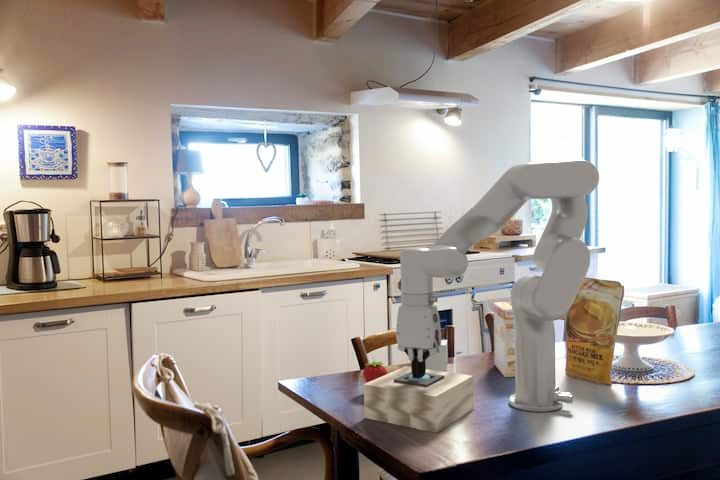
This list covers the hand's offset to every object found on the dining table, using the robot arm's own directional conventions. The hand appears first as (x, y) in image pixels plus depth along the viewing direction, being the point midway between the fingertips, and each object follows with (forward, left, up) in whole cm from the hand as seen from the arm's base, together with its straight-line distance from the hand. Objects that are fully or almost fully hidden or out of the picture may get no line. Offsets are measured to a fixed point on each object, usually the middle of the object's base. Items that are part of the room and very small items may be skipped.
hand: (418, 376), depth 148 cm
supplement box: (+7, -20, -9) cm, 23 cm away
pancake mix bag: (-26, -50, -9) cm, 57 cm away
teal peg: (0, 0, -7) cm, 7 cm away
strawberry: (+18, -8, -9) cm, 22 cm away
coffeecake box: (-4, -47, -9) cm, 48 cm away
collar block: (0, 0, -9) cm, 9 cm away
